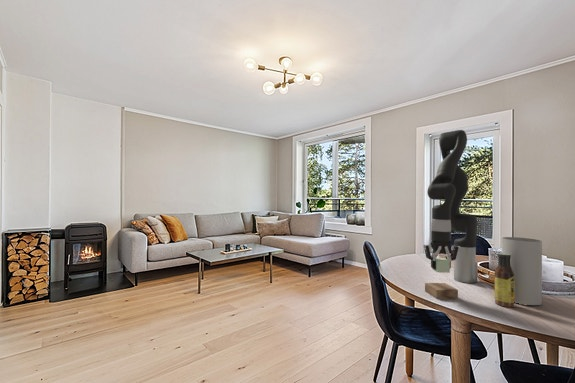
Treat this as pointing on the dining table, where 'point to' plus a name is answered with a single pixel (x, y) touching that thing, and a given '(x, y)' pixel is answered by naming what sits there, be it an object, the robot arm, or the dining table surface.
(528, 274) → the cylinder vase
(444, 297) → the walnut base
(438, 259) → the green cube
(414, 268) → the dining table surface
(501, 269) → the sauce bottle
